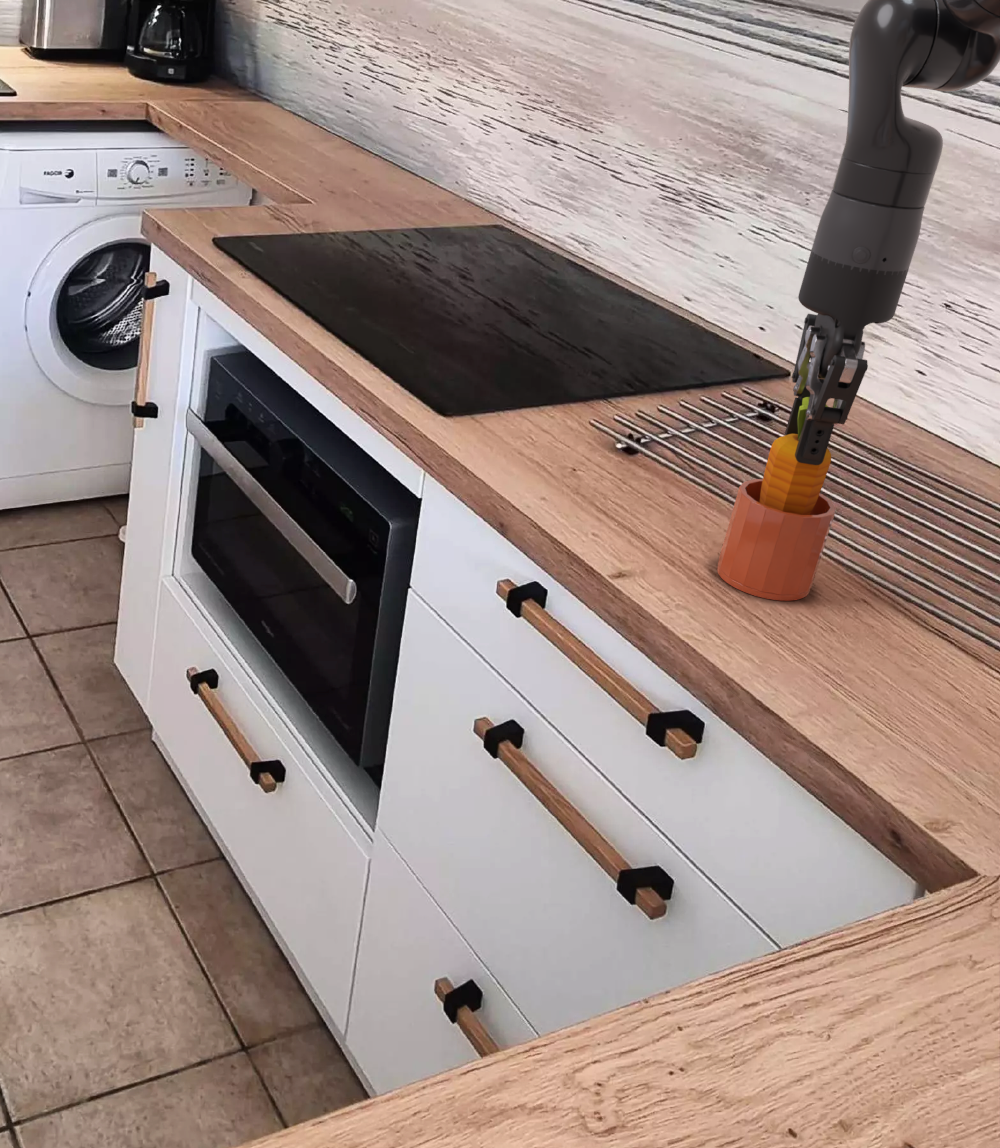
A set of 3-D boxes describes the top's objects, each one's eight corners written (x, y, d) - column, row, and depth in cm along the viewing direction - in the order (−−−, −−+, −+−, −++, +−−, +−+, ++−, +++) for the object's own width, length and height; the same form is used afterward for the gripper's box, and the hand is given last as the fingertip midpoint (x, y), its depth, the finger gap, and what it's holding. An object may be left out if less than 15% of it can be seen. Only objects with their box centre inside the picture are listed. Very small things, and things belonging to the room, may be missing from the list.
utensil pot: (801, 568, 137) (826, 488, 133) (816, 607, 130) (843, 523, 126) (712, 553, 138) (734, 473, 134) (722, 591, 130) (746, 507, 127)
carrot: (745, 541, 135) (791, 384, 129) (801, 557, 134) (851, 398, 127) (735, 560, 131) (782, 399, 125) (794, 577, 130) (844, 414, 123)
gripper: (931, 284, 114) (864, 490, 121) (889, 241, 126) (831, 430, 134) (829, 268, 114) (769, 474, 122) (798, 227, 127) (745, 416, 135)
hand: (802, 450), depth 128 cm, fingers closed on carrot, 4 cm apart
